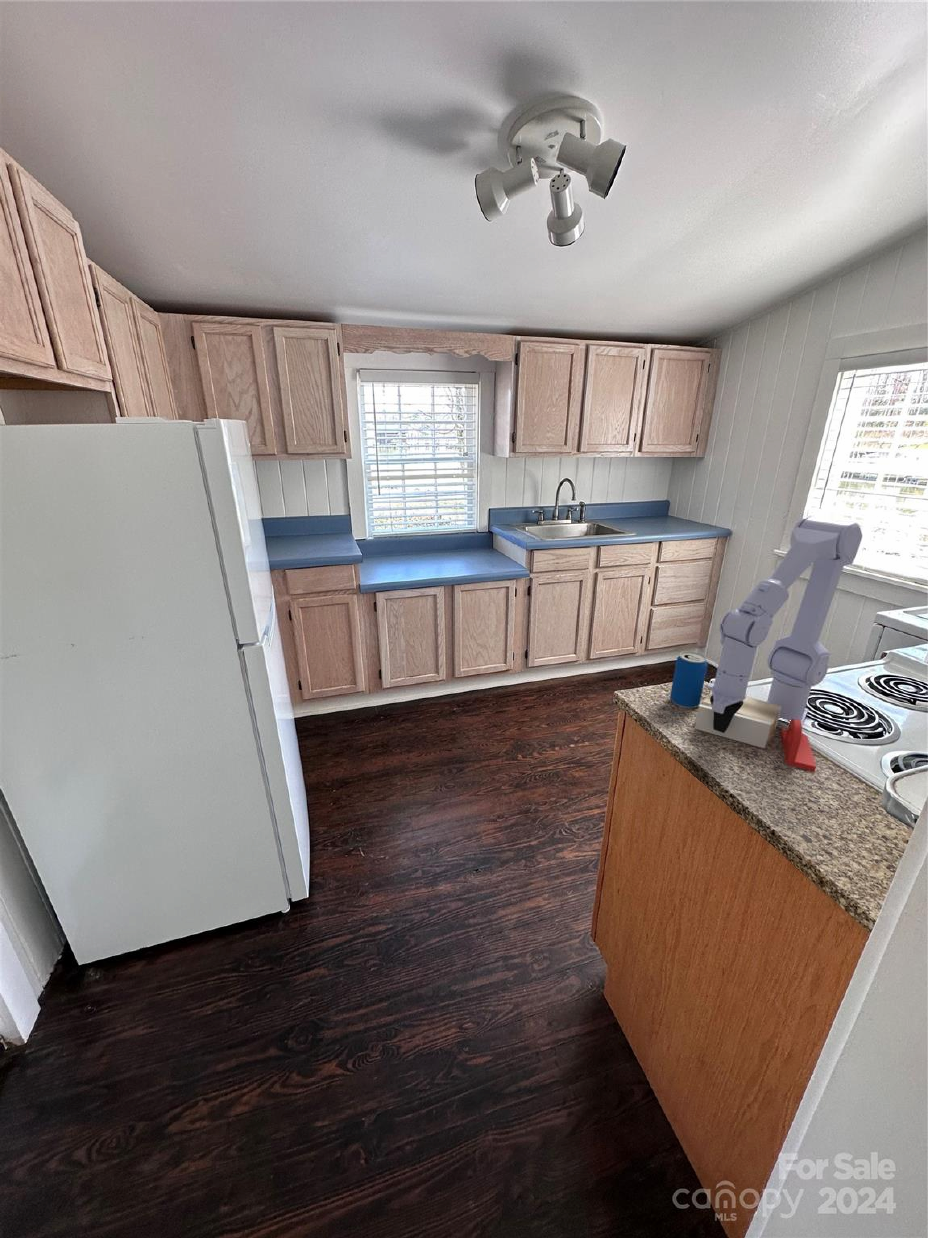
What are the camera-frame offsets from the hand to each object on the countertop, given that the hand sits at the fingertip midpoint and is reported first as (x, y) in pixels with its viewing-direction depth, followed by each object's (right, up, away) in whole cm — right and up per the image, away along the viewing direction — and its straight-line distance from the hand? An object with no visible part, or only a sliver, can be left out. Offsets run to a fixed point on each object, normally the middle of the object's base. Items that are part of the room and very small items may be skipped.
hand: (719, 730), depth 101 cm
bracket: (+14, -4, -3) cm, 15 cm away
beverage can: (-1, +3, +15) cm, 15 cm away
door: (+2, -2, +1) cm, 3 cm away
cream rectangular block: (+7, 0, +5) cm, 9 cm away
